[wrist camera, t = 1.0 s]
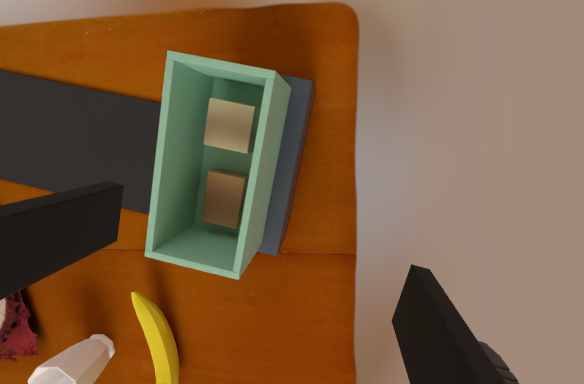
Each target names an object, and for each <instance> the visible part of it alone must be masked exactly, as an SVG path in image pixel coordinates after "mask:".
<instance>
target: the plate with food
mask: <svg viewBox="0 0 584 384" xmlns="http://www.w3.org/2000/svg"><path fill="white" fill-rule="evenodd" d="M22 301H23V298H22V297H21V292H20V291H18V292H16V293H14V294H12V295H10V296H8V297H6V298H4V299H2V300H0V352H1V349H2V347H3V348H4V346H5V345H8V347H7V348H5V350H4V351H2V352H1V353H0V359H5V360H6V361H13V362H16V361H17V360H16V359H14V358H12V357H11V355H12V356H13V355H21V354H22V355H23V356H22V357H24V356H27V355H28V354H29V356H32V355H34V354H36V356H37V355H38V350H37V343H36V337H37V334H34V333H32V332H31V330H30V327H29V324H28V322H27V320H28V318H29V317H30V316H31V313H29V310H30V308H29V309H28V308H26V307H25V304H24V303H23V302H22ZM27 309H28V310H27Z"/></svg>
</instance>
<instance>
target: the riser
mask: <svg viewBox="0 0 584 384" xmlns="http://www.w3.org/2000/svg"><path fill="white" fill-rule="evenodd" d="M279 75H280V76H281V77H282V78H283V79H284V81H285V82H286V83H287V84H288V85H289V86H290V87H291V93H290V98H289V103H288V109H287V114H286V119H285V124H284V130H283V135H282V140H281V145H280V151H279V156H278V161H277V166H276V172H275V177H274V182H273V187H272V193H271V198H270V203H269V208H268V214H267V219H266V224H265V229H264V235H263V240H262V244H261V246H260V247H259V249H258V250H257V252H261V253H265V254H269V255H273V256H277V254H278V252H279V250H280V248H281V246H282V244H283V241H284V239H285V236H286V231H287V226H288V221H289V216H290V212H291V207H292V202H293V197H294V192H295V187H296V182H297V178H298V173H299V168H300V163H301V158H302V153H303V148H304V144H305V139H306V134H307V129H308V124H309V119H310V114H311V110H312V105H313V100H314V95H315V90H316V89H315V86H314V84H313V81H312V80H307V79H302V78H297V77H291V76H286V75H281V74H279Z"/></svg>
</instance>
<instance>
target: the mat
mask: <svg viewBox="0 0 584 384" xmlns="http://www.w3.org/2000/svg"><path fill="white" fill-rule="evenodd" d="M160 112H161V103H156V102H152V101H147V100H142V99H137V98H132V97H127V96H122V95H117V94H113V93H108V92H103V91H98V90H93V89H88V88H83V87H79V86H74V85H69V84H64V83H59V82H54V81H49V80H45V79H40V78H35V77H30V76H25V75H20V74H15V73H11V72H6V71H1V70H0V179H3V180H7V181H11V182H15V183H20V184H24V185H28V186H32V187H36V188H41V189H45V190H49V191H53V192H57V193H58V192H62V191H67V190H71V189H76V188H80V187H84V186H89V185H93V184H97V183H102V182H106V181H110V182H114V183H117V184H121V185H124V188H123V196H122V204H121V208H124V209H129V210H133V211H137V212H141V213H145V214H149V211H150V202H151V193H152V184H153V175H154V166H155V157H156V148H157V139H158V130H159V121H160Z"/></svg>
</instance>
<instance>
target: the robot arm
mask: <svg viewBox="0 0 584 384" xmlns="http://www.w3.org/2000/svg"><path fill="white" fill-rule="evenodd" d="M123 188H124V185H121V184H117V183H114V182H110V181H106V182H102V183H97V184H93V185H89V186H84V187H80V188H76V189H71V190H67V191H62V192H58V193H54V194H49V195H45V196H41V197H36V198H32V199H28V200H23V201H19V202H14V203H10V204H6V205H1V206H0V300H2V299H4V298H6V297H8V296H10V295H12V294H14V293H16V292H18V291H20V290H22V289H24V288H26V287H28V286H30V285H32V284H34V283H36V282H38V281H39V280H41V279H43V278H45V277H47V276H49V275H51V274H53V273H55V272H57V271H59V270H61V269H63V268H65V267H67V266H69V265H71V264H73V263H75V262H77V261H79V260H81V259H82V258H84V257H86V256H88V255H90V254H92V253H94V252H96V251H98V250H100V249H102V248H104V247H106V246H108V245H110V244H112V243H114V242H116V241H117V237H118V229H119V221H120V212H121V204H122V196H123ZM392 324H393V327H394V330H395V334H396V337H397V341H398V344H399V347H400V351H401V354H402V358H403V361H404V364H405V368H406V371H407V374H408V378H409V381H410V384H519V383H518V380H517V379H516V378H515V376H514V375H513V373H512V372H510V369H509V368H508V366H507V365H506V364H505V362H504V361H503V360H502V358H501V357H500V356H499V355H498V354H497V353H496V352H495V351H494V350H493V349H491V348H490V347H489V346H488V345H487V344H486V343H483V342H479V341H477V339H476V338H475V336H474V335H473V333H472V332H471V330H470V329H469V327H468V326H467V324H466V323H465V321H464V320H463V318H462V317H461V315H460V314H459V312H458V311H457V310H456V308H455V306H454V305H453V303H452V302H451V301H450V299H449V298H448V296H447V295H446V293H445V292H444V290H443V289H442V287H441V286H440V284H439V283H438V281H437V280H436V278H435V277H434V275H433V274H432V272H431V271H430V269H426V268H423V267H419V266H415V265H411V267H410V270H409V273H408V276H407V279H406V281H405V284H404V287H403V290H402V293H401V296H400V299H399V301H398V304H397V307H396V310H395V313H394V316H393V319H392Z"/></svg>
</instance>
